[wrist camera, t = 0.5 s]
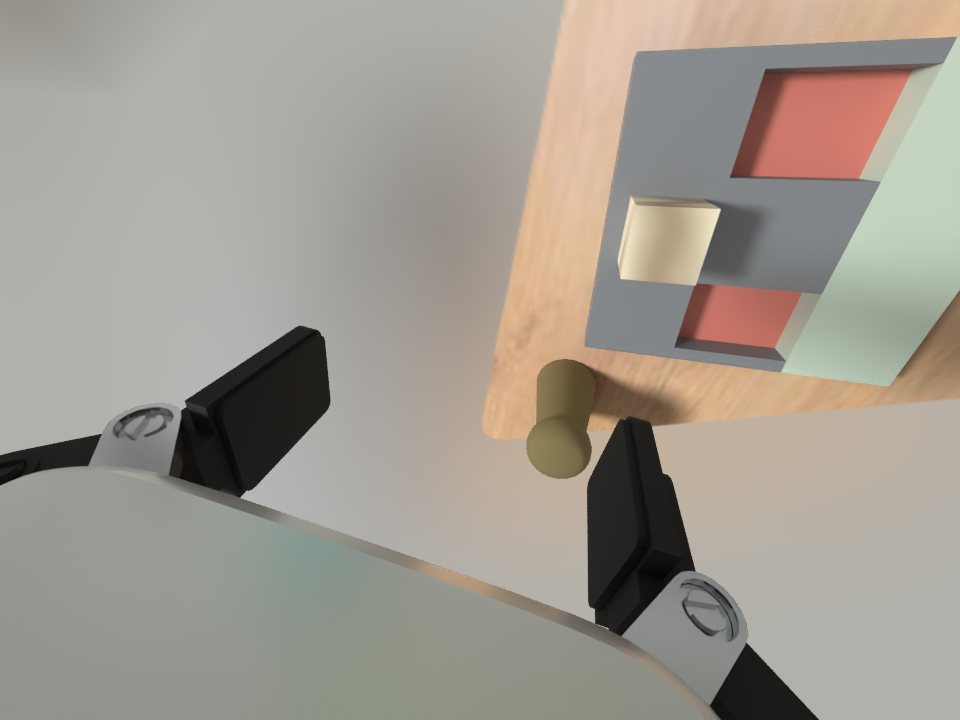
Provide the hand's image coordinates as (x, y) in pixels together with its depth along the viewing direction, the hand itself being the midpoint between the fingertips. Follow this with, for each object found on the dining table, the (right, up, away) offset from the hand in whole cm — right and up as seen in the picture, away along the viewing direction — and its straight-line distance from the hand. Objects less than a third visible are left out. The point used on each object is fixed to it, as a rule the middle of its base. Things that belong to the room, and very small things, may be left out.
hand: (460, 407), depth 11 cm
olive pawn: (+10, -1, +26) cm, 28 cm away
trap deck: (+21, +11, +15) cm, 28 cm away
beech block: (+13, +11, +15) cm, 22 cm away
